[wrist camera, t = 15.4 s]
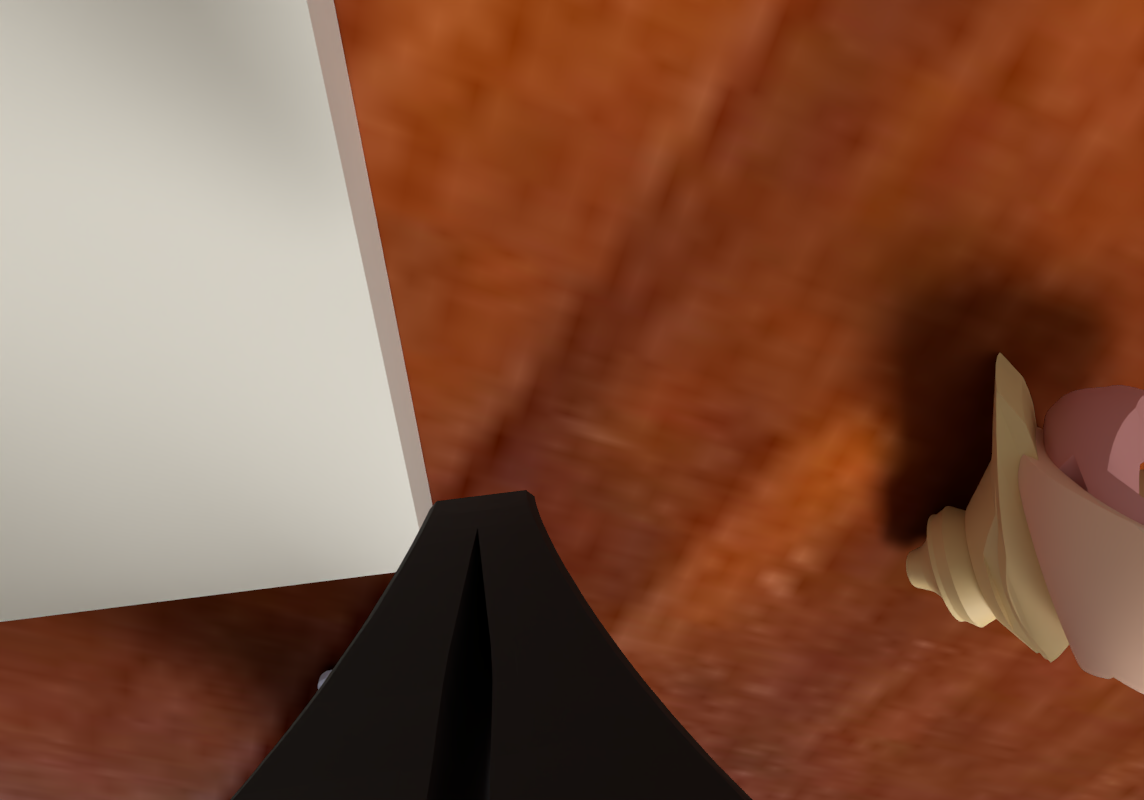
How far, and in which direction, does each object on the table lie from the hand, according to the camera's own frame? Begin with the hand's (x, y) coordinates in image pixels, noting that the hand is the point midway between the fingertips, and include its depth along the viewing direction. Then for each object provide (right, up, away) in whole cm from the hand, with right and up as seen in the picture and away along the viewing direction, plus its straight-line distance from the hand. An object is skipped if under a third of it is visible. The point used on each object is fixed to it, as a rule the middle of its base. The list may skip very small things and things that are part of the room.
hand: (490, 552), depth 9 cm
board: (-10, +5, +7) cm, 13 cm away
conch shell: (+16, 0, +13) cm, 20 cm away
